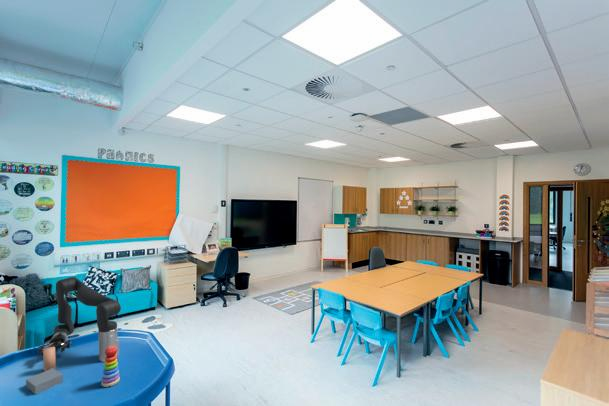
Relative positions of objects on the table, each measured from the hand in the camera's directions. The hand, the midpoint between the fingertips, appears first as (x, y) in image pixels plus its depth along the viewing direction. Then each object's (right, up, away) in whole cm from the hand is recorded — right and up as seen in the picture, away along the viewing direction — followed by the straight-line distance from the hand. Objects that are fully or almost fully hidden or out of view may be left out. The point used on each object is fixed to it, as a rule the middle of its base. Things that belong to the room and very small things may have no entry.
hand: (52, 352), depth 169 cm
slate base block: (+11, -8, -17) cm, 22 cm away
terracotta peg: (+3, -7, -5) cm, 9 cm away
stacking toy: (+43, -8, -16) cm, 47 cm away
